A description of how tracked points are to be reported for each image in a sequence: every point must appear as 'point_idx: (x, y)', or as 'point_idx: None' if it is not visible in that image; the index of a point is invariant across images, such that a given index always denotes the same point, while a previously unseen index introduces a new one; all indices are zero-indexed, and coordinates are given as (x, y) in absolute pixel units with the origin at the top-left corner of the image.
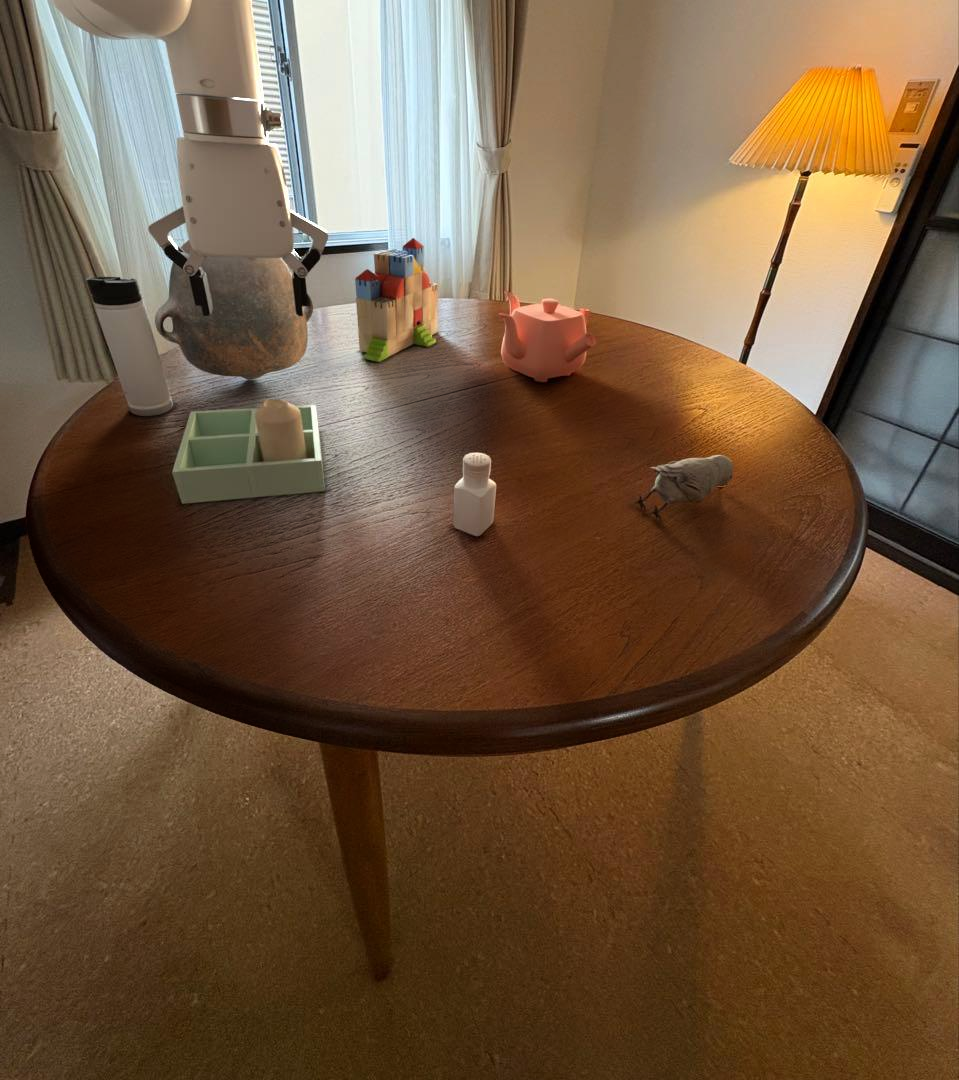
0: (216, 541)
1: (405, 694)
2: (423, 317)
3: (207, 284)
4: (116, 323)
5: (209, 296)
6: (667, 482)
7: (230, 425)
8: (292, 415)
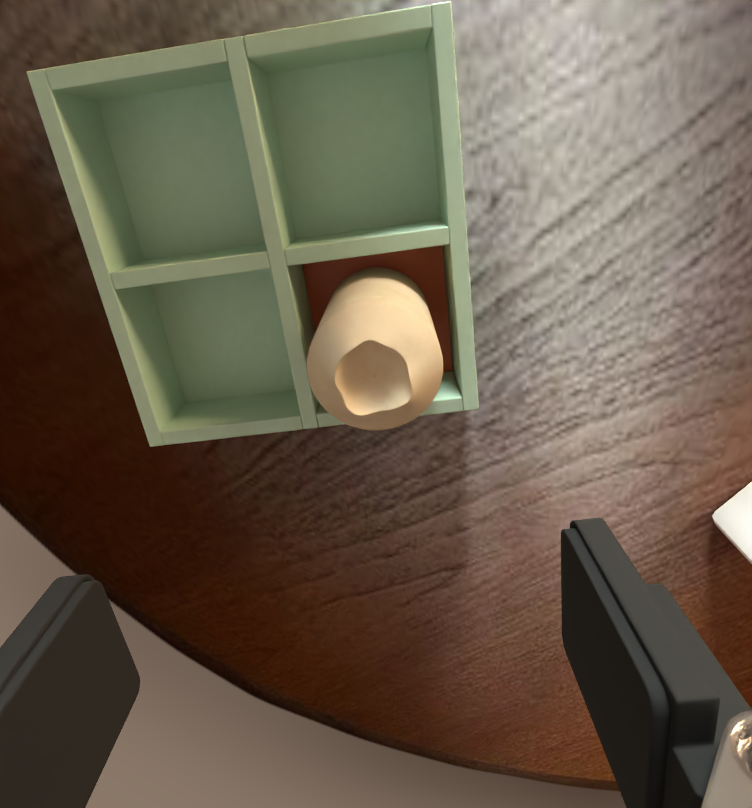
0: (285, 522)
1: (557, 762)
2: None
3: (31, 717)
4: None
5: (75, 667)
6: None
7: (167, 82)
8: (424, 404)
